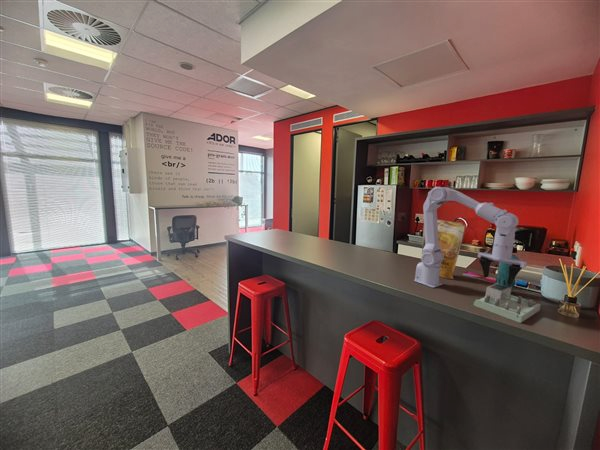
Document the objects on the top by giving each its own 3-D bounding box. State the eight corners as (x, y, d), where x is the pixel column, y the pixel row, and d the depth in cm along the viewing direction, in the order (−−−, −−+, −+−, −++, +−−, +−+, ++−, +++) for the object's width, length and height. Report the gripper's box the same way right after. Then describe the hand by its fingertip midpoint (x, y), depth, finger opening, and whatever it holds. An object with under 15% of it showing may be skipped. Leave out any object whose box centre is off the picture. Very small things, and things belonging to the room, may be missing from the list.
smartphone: (497, 283, 117) (462, 273, 128) (497, 285, 117) (462, 275, 129) (502, 280, 121) (468, 271, 133) (502, 282, 121) (467, 272, 133)
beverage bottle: (490, 289, 110) (497, 245, 107) (500, 287, 112) (507, 244, 109) (507, 295, 104) (515, 249, 101) (517, 293, 106) (525, 248, 103)
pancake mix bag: (421, 268, 138) (426, 217, 133) (459, 278, 123) (467, 222, 119) (415, 270, 134) (420, 218, 129) (453, 281, 119) (461, 223, 114)
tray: (473, 305, 94) (475, 295, 93) (494, 295, 103) (496, 286, 103) (520, 323, 82) (522, 311, 82) (539, 310, 92) (541, 300, 91)
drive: (484, 300, 94) (486, 286, 94) (495, 296, 99) (497, 282, 98) (499, 306, 91) (501, 291, 90) (509, 300, 95) (511, 286, 95)
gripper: (476, 242, 97) (471, 275, 99) (523, 251, 85) (516, 289, 87) (484, 241, 101) (479, 273, 103) (531, 249, 88) (524, 285, 91)
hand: (497, 280), depth 95 cm, fingers open, 7 cm apart
